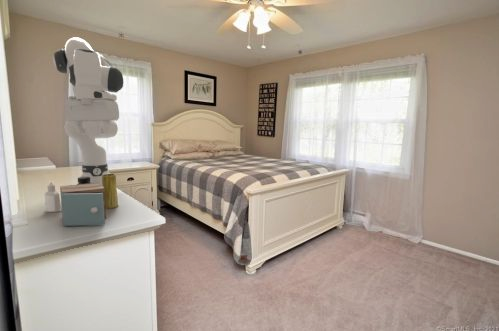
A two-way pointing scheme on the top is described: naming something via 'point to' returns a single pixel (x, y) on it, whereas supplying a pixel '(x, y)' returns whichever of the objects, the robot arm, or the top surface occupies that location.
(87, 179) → the supplement bottle
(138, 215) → the top surface
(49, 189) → the eye dropper bottle
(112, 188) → the vase
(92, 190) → the cabinet box
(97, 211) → the door
